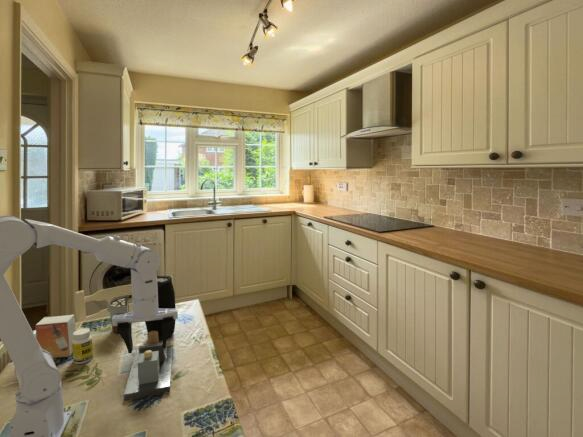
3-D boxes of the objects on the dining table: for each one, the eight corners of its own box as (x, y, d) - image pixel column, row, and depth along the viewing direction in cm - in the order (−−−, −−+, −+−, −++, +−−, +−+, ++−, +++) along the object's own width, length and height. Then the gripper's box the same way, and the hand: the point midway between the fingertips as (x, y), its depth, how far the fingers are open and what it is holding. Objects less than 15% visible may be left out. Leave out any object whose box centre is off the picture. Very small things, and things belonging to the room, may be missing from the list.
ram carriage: (164, 361, 87) (162, 339, 87) (139, 365, 86) (138, 342, 85) (165, 349, 94) (164, 328, 93) (143, 352, 92) (141, 331, 91)
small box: (37, 360, 90) (34, 325, 89) (46, 350, 96) (43, 316, 94) (70, 356, 93) (67, 321, 91) (77, 346, 98) (74, 313, 97)
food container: (110, 323, 113) (108, 296, 112) (129, 320, 116) (128, 294, 114) (106, 339, 102) (104, 309, 101) (128, 336, 105) (126, 306, 103)
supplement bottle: (83, 365, 88) (81, 336, 87) (69, 363, 89) (66, 334, 88) (97, 356, 93) (95, 328, 92) (83, 354, 94) (81, 326, 93)
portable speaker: (145, 333, 106) (141, 276, 104) (174, 327, 111) (172, 272, 108) (146, 345, 99) (143, 284, 96) (178, 338, 103) (175, 279, 100)
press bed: (170, 391, 78) (169, 381, 77) (124, 400, 75) (123, 389, 74) (173, 349, 96) (172, 341, 96) (136, 355, 93) (136, 346, 93)
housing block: (158, 381, 79) (157, 355, 78) (138, 384, 78) (137, 358, 77) (159, 370, 83) (158, 346, 83) (141, 374, 82) (139, 349, 81)
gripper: (177, 287, 84) (179, 336, 86) (115, 293, 79) (118, 345, 81) (176, 297, 77) (178, 350, 79) (108, 304, 73) (112, 360, 74)
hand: (147, 348), depth 80 cm, fingers open, 7 cm apart
